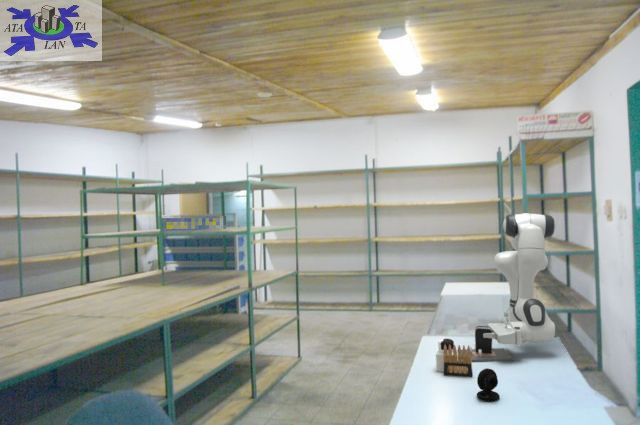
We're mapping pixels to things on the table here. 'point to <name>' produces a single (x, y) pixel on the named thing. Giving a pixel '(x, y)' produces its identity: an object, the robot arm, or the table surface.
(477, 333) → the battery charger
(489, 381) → the webcam
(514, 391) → the table surface
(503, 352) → the dock
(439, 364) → the medicine bottle
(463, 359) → the ammunition clip
